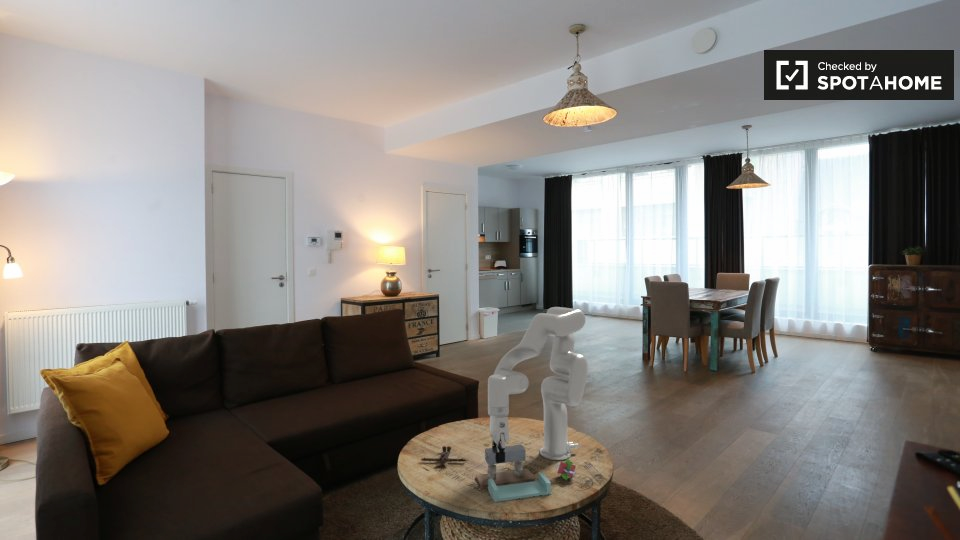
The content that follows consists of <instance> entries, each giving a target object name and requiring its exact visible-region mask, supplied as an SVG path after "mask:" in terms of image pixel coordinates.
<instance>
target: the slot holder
mask: <svg viewBox="0 0 960 540" xmlns="http://www.w3.org/2000/svg"><path fill="white" fill-rule="evenodd" d="M537 474H538V476H537V477H538V480H535V481H533V482H525V483H517V484H509V485H502V486H496V484H495V482H494V480H493V479H488V487H487V488H488V490H487V491H488V492H489V495H490V497H491V498H492V500H493V502H494V503H497V502H504V501H506V502H507V501H511V500H519V498H520V499H525V498H526V499H528V498H534V497H533V496H535V497H540V496H539V495H542V496H547V495H548V494H549V495H551V494H552V493H551V492H552V482H551V481H550V479H549V478H548V477H547V476H546V475H545V473H543V471H541V472H538V473H537Z"/></svg>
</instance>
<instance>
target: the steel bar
mask: <svg viewBox="0 0 960 540" xmlns="http://www.w3.org/2000/svg"><path fill="white" fill-rule="evenodd" d="M505 446H506V445H505ZM496 452H497V447H496V448H492V447H488V448H484V461H486V464H487V466H488V465H491V464H494V465H500V463H496ZM526 457H527V456H526V449H525V447H524V446H523V444H514V445H507V446H506V448H505V462H504V463H503V464H507V463H514V462H516V461H521V462H523V461H526Z"/></svg>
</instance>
